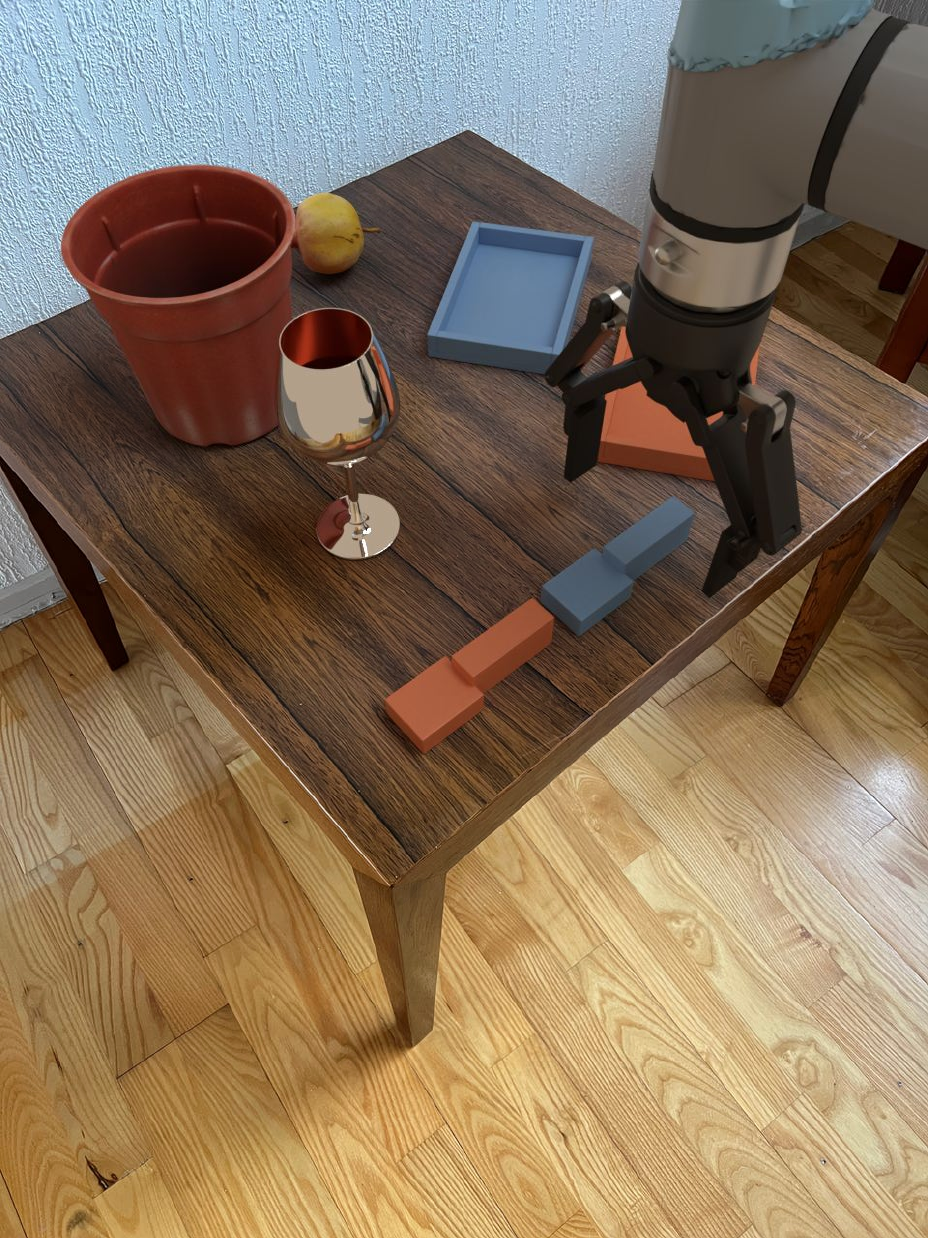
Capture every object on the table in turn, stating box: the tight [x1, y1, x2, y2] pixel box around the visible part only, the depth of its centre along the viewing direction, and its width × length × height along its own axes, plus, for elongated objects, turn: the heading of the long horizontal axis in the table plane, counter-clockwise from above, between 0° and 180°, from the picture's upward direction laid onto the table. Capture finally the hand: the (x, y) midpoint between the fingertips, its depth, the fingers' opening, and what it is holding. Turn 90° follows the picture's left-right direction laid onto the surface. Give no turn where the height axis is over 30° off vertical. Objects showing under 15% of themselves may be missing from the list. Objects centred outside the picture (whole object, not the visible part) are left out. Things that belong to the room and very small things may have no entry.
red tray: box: [597, 327, 761, 482], centre depth 79 cm, size 12×17×2 cm
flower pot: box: [60, 163, 296, 447], centre depth 75 cm, size 16×16×16 cm
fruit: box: [291, 192, 381, 275], centre depth 88 cm, size 7×7×10 cm
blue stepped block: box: [540, 495, 696, 637], centre depth 69 cm, size 12×4×3 cm, turn 130°
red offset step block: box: [384, 597, 555, 755], centre depth 64 cm, size 12×4×3 cm, turn 130°
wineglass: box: [274, 307, 401, 561], centre depth 66 cm, size 8×8×18 cm
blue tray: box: [426, 221, 595, 375], centre depth 86 cm, size 12×17×2 cm
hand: (646, 525), depth 68 cm, fingers open, 13 cm apart
